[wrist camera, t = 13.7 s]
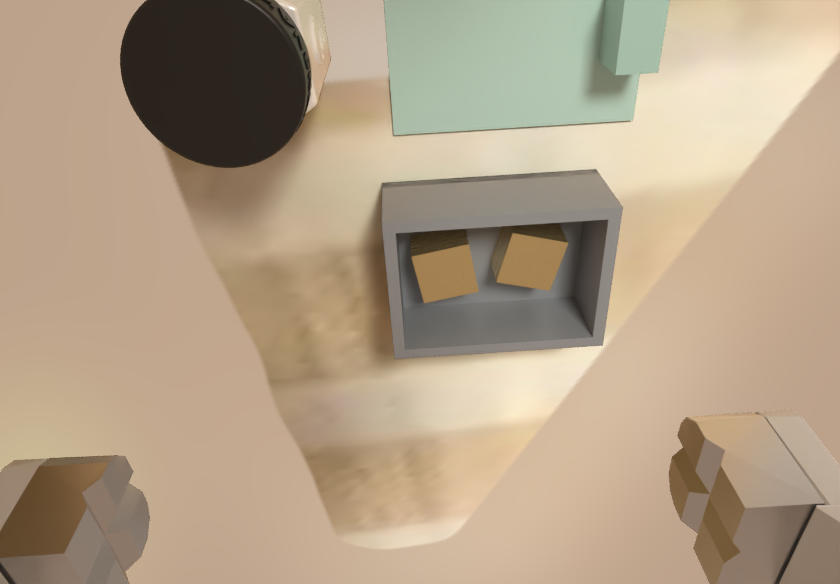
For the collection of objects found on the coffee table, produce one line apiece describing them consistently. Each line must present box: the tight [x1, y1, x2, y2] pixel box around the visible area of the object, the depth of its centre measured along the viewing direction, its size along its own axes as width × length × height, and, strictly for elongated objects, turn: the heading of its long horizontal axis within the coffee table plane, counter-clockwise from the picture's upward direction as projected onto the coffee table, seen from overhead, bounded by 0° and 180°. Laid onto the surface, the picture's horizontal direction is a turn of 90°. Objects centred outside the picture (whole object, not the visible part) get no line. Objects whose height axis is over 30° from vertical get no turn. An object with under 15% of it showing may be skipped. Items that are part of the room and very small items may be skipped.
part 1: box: [410, 229, 479, 303], centre depth 45 cm, size 4×4×3 cm
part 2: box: [490, 223, 568, 291], centre depth 44 cm, size 4×4×3 cm
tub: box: [382, 169, 623, 359], centre depth 44 cm, size 11×15×6 cm
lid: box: [384, 0, 670, 135], centre depth 37 cm, size 12×16×4 cm
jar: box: [120, 0, 331, 168], centre depth 33 cm, size 9×8×12 cm
